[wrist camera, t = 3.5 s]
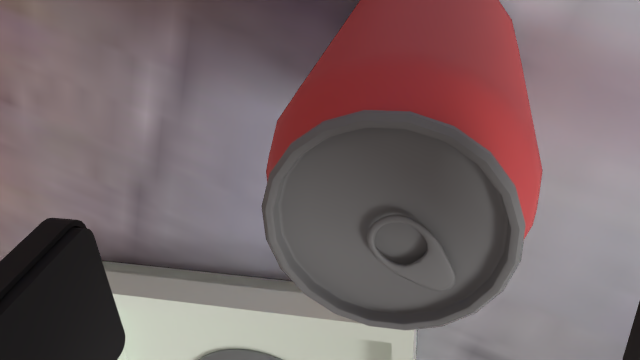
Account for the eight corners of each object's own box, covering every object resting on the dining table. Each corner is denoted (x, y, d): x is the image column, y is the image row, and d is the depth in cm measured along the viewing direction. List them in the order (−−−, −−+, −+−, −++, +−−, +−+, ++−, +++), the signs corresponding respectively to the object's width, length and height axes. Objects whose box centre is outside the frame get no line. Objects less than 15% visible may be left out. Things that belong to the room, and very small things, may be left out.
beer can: (423, 161, 25) (387, 387, 15) (309, 53, 23) (183, 219, 13) (556, 56, 21) (627, 255, 11) (430, -77, 20) (384, 13, 10)
